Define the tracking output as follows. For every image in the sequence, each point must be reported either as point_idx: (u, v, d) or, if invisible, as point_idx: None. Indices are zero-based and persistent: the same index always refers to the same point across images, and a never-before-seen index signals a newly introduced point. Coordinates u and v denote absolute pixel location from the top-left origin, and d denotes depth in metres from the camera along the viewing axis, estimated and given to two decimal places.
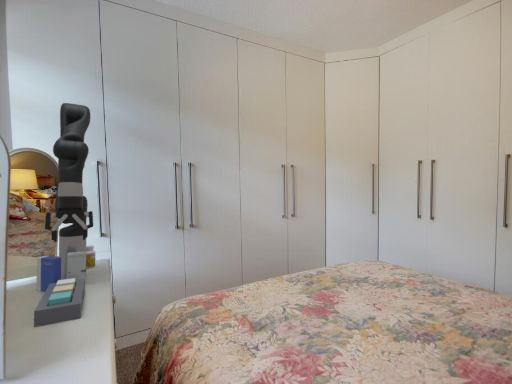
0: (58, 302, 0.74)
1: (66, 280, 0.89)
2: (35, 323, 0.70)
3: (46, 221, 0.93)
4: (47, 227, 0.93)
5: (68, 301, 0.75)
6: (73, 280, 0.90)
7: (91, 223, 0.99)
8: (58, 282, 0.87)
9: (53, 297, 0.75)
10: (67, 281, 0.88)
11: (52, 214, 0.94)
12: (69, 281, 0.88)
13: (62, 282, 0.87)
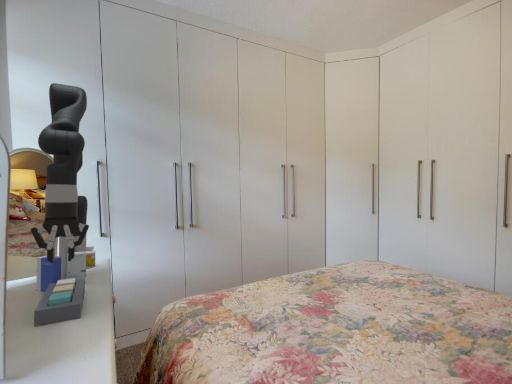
0: (58, 302, 0.74)
1: (66, 280, 0.89)
2: (35, 323, 0.70)
3: (36, 239, 0.73)
4: (41, 245, 0.73)
5: (68, 301, 0.75)
6: (73, 280, 0.90)
7: (80, 240, 0.78)
8: (58, 282, 0.87)
9: (53, 297, 0.75)
10: (67, 281, 0.88)
11: (39, 228, 0.74)
12: (69, 281, 0.88)
13: (62, 282, 0.87)
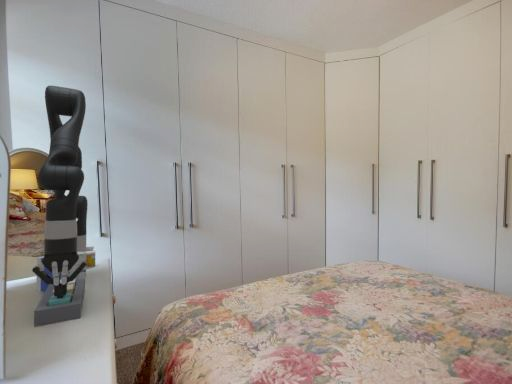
0: None
1: None
2: (35, 323, 0.70)
3: (41, 277, 0.73)
4: (49, 281, 0.74)
5: None
6: (73, 280, 0.90)
7: (73, 276, 0.77)
8: None
9: (53, 298, 0.75)
10: None
11: (40, 266, 0.74)
12: None
13: None
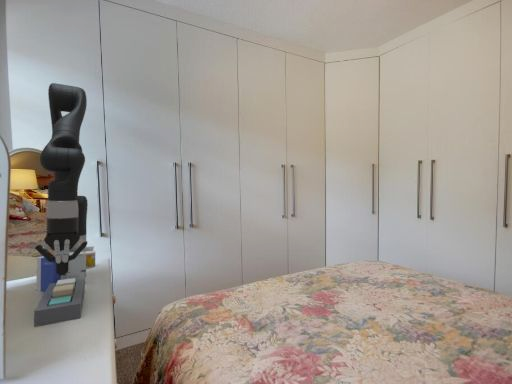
0: None
1: (66, 280, 0.89)
2: (35, 323, 0.70)
3: (43, 255, 0.76)
4: (51, 259, 0.77)
5: None
6: (73, 280, 0.90)
7: (74, 255, 0.80)
8: (58, 282, 0.87)
9: (53, 301, 0.75)
10: (67, 281, 0.88)
11: (42, 244, 0.76)
12: (69, 281, 0.88)
13: (62, 282, 0.87)
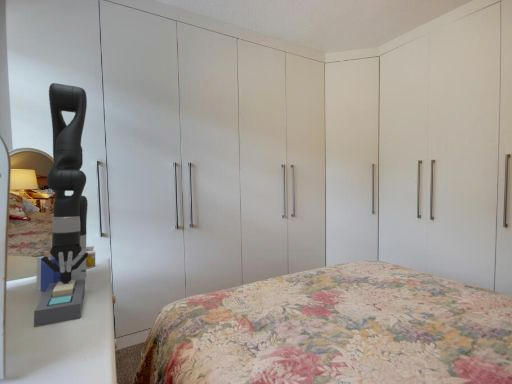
0: None
1: None
2: (35, 323, 0.70)
3: (49, 265, 0.85)
4: (56, 269, 0.86)
5: None
6: (73, 281, 0.90)
7: (77, 265, 0.89)
8: (58, 284, 0.87)
9: (53, 301, 0.75)
10: None
11: (48, 256, 0.86)
12: (69, 283, 0.88)
13: (62, 284, 0.87)
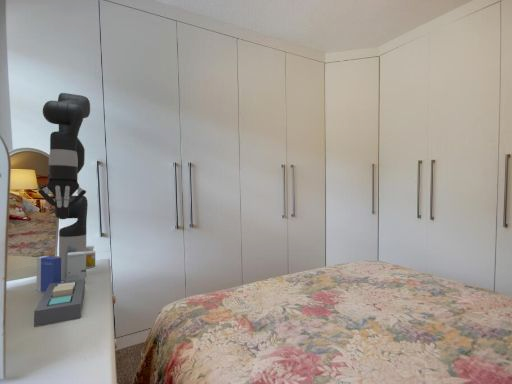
0: None
1: (66, 284, 0.89)
2: (35, 323, 0.70)
3: (46, 198, 0.83)
4: (53, 203, 0.84)
5: None
6: None
7: (74, 201, 0.87)
8: None
9: (53, 301, 0.75)
10: None
11: (45, 189, 0.84)
12: None
13: None
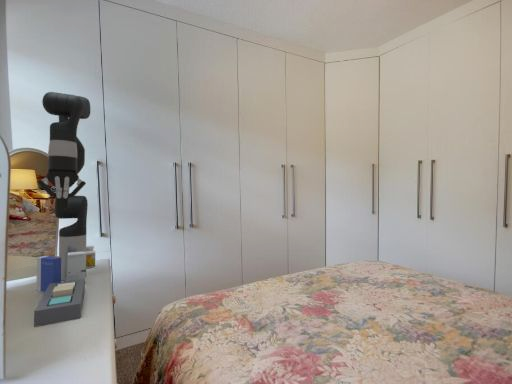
0: None
1: (66, 284, 0.89)
2: (35, 323, 0.70)
3: (45, 189, 0.83)
4: (52, 194, 0.84)
5: None
6: None
7: (74, 192, 0.87)
8: None
9: (53, 301, 0.75)
10: None
11: (44, 180, 0.84)
12: None
13: None
